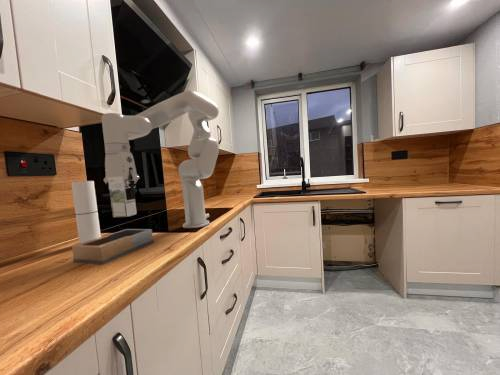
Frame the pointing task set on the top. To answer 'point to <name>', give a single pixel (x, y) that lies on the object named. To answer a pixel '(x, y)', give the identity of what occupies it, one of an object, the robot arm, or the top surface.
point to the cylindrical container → (86, 210)
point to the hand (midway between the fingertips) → (123, 199)
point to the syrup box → (120, 198)
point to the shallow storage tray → (111, 246)
